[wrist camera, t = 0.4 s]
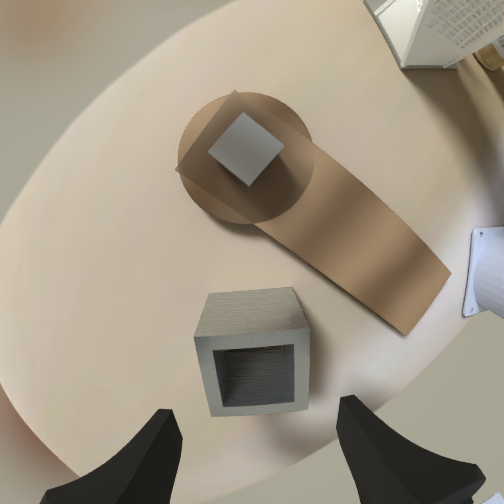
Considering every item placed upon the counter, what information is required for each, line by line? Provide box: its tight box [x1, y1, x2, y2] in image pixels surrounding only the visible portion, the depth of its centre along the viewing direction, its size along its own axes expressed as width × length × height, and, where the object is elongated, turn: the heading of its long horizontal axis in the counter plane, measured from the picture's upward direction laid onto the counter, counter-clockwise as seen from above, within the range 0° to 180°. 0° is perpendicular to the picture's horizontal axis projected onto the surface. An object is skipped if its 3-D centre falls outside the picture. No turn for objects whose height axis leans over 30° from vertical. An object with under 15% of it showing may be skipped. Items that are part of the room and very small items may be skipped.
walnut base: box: [175, 90, 451, 336], centre depth 16 cm, size 21×8×4 cm, turn 55°
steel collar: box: [194, 287, 310, 417], centre depth 17 cm, size 6×6×6 cm
